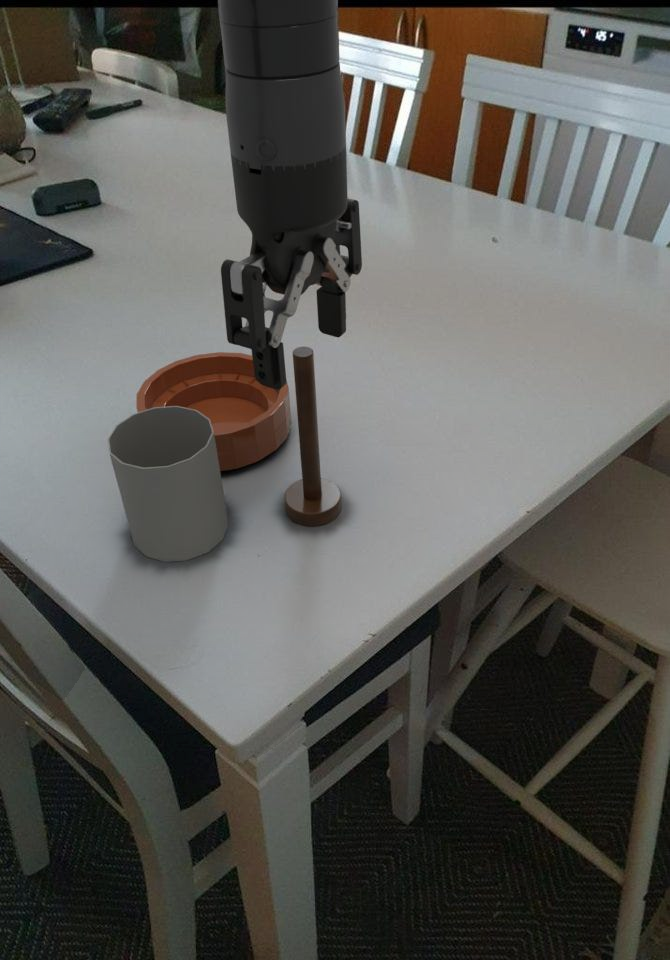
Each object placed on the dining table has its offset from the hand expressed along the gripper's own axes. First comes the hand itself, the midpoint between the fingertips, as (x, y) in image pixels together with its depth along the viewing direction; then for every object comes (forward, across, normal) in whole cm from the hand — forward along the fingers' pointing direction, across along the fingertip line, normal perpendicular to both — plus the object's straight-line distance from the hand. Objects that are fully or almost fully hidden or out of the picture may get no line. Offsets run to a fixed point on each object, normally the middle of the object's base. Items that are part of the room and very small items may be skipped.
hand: (303, 358), depth 63 cm
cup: (+15, +8, -9) cm, 20 cm away
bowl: (+15, -5, -14) cm, 22 cm away
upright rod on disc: (+15, 0, 0) cm, 15 cm away
